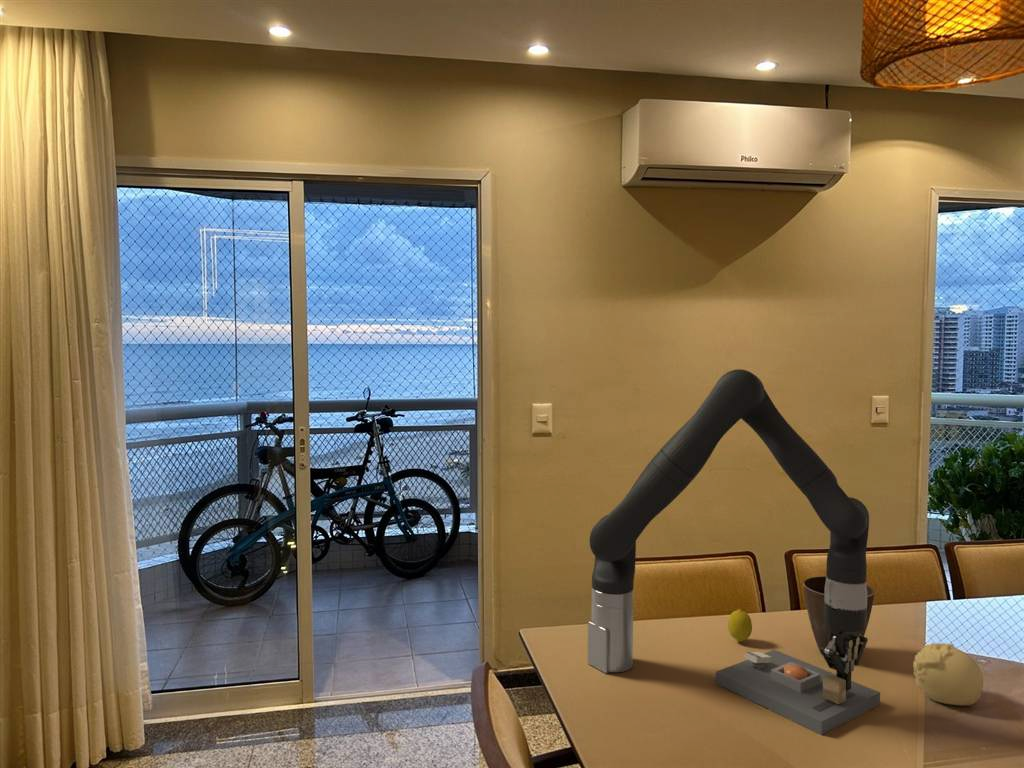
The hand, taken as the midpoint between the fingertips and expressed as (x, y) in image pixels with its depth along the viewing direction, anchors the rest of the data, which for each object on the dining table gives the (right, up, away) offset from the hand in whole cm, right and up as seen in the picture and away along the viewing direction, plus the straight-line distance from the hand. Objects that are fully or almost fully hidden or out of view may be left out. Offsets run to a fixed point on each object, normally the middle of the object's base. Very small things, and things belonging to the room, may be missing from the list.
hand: (843, 689), depth 135 cm
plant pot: (+11, -3, +25) cm, 27 cm away
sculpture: (+23, -4, +4) cm, 24 cm away
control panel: (-7, -4, +6) cm, 10 cm away
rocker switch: (-12, +1, +13) cm, 18 cm away
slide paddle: (-3, -1, -2) cm, 4 cm away
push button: (-7, -1, +6) cm, 9 cm away
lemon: (-10, -3, +32) cm, 34 cm away
